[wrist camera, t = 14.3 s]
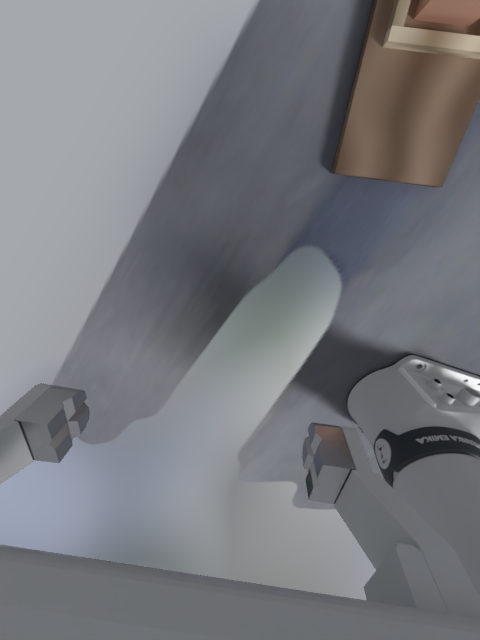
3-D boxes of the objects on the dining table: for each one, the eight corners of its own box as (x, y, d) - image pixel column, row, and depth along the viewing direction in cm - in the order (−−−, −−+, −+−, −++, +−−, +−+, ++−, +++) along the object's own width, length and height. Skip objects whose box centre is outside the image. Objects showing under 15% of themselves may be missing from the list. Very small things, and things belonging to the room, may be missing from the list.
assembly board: (545, -87, 21) (581, -122, 19) (434, 187, 30) (448, 187, 28) (398, -104, 22) (416, -140, 19) (331, 173, 31) (337, 172, 28)
